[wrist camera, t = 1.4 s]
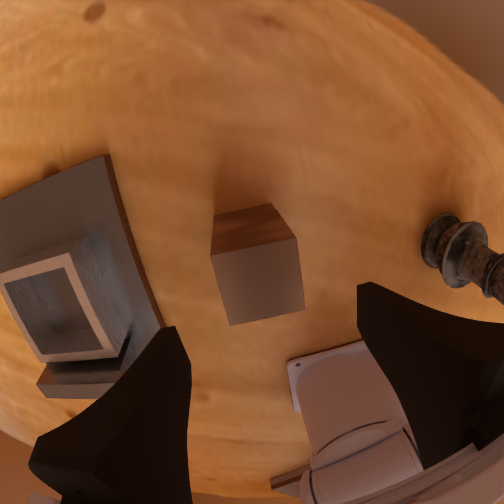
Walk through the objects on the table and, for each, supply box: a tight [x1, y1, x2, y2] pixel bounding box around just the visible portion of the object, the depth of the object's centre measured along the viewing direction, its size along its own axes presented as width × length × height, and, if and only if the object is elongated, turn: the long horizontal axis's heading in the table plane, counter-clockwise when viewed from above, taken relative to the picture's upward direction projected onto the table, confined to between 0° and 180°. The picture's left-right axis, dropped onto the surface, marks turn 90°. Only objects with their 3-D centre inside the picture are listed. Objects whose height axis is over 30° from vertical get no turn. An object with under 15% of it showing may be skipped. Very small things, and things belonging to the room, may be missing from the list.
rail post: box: [210, 204, 306, 326], centre depth 17 cm, size 4×4×7 cm
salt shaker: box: [421, 213, 504, 305], centre depth 17 cm, size 6×6×12 cm
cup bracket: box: [0, 154, 166, 399], centre depth 18 cm, size 14×18×6 cm
